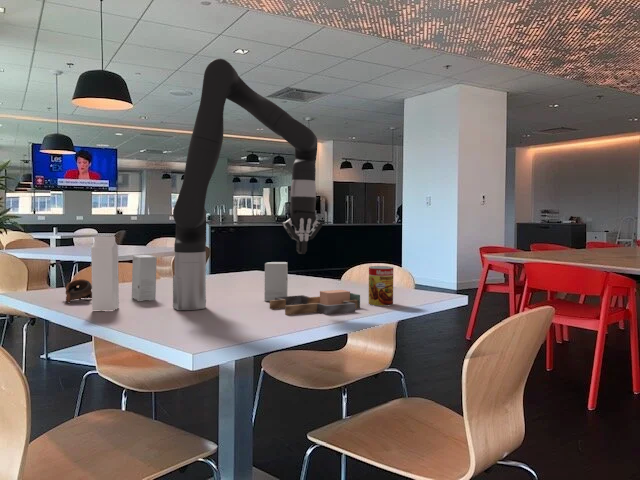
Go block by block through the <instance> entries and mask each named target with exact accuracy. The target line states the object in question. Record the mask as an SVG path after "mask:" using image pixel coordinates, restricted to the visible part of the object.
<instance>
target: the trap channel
mask: <svg viewBox="0 0 640 480" xmlns="http://www.w3.org/2000/svg"><path fill="white" fill-rule="evenodd" d="M360 308H361V294H357V293H352V292H350V300H346V301H342V304H336V305H324V304H321V303H320V296H307V295H304V294H303V295H302V294H301V295H299V294H298V295H290V296H289V295H287V296H286V297H275V300H270V301H269V309H270V310H277V309H284V314H285V316H289V315H290V316H291V315H301V314H311V313H319V314H322V315H325V316H327V315H337V314H347V313H355V312H356V309H360Z"/></svg>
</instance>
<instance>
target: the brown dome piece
mask: <svg viewBox="0 0 640 480" xmlns="http://www.w3.org/2000/svg"><path fill="white" fill-rule="evenodd" d="M64 288H65V295H66V296H65V301H66V303H67V302H70V303H71V301H75V300H79V299H80V300H82V299H81V298H84V299H91V298H92V282H90V281H89V280H87V279H80V278H79V279H75V280H72V281H69V282H67V283H66V284H65V286H64Z"/></svg>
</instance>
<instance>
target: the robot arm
mask: <svg viewBox="0 0 640 480" xmlns="http://www.w3.org/2000/svg"><path fill="white" fill-rule="evenodd" d="M201 88H202V89H201V95H200V103H199V105H198V109H197V114H196V118H195V121H194V126H193V130H192V133H191V137H190V141H189V146H188V151H187V156H186V162H185V168H184V177H183V181H182V184H181V187H180V190H179V193H178V196H177V199H176V202H175V205H174V206H173V207H174V208H173V211H172V217H173V220H174V222H175V237H174V239H175V240H174V244H173V245H174V250H173V251H174V276H172V307H173V309H175V310H177V311H196V310H203V309H206V308H207V280H206V279H207V277H206V276H207V273H206V272H207V271H206V270H207V269H206V267H207V263H206V260H207V257H206V255H207V253H206V248H207V246H206V245H207V211H206V208H205V205H206V198H207V193H208V187H209V184H210V181H211V179H212V177H213V174H214V172H215V169H216V167H217V165H218V162H219V159H220V158H219V157H220V155H221V150H222V147H223V140H224V110H225V106H226V105H225V103H226V101H227V100H229V101H231V102H232V103H234V104H236V105H238V106H239V107H241V108H242V109H244V110H245V111H247V112H248V113H249V114H250V115H252V116H253V117H254V118H255V119H256V120H258V121H259V122H260V123H261V124H262V125H264V126H265V127H267V128H268V129H269V130H270V131H271V132H273V133H274V134H276V135H278V136H279V137H281V138H283V140H285V141H286V142H287V143H288V144H289V145H290V146H292V147H293V148H294V162H293V164H292V167H291V169H292V170H291V184H290V185H291V186H290V209H289V210H290V214H289V217H288V219H287V220H286V221H283V222H282V223H281V225H282V226H283V228H284V229H285V231H286V233H287V234H288V235H289V237H290V239H291V240H295V242H296V252H297V254H299V255H305V254H306V252H307V251H308V241H309V240H313V239H314V238H315V237H316V235H318V233H319V231H320V230H321V228H322V227H323V223H322V222H320V221H318V220H317V216H316V204H317V186H316V175H317V174H316V170H317V169H316V162H317V156H318V138H317V135H316V134H315V132H313V130H312V129H310V128H309V127H307V126H306V125H304V123H302V122H300V121H299V120H297V119H296V118H294V117H293V116H292V115H291V114H289V113H288V112H287V111H286V110H284V109H283V108H282V107H280V105H277V104H276V103H274V102H273V101H271V100H270V99H268V98H266V97H264V96H262V95H261V94H259V93H258V92H256V91H255V90H253V89H252V88H251V87H250V86H249V85H248V84H247V83H246V82H245V81H244V80H243V79H242V78H241V77H240V76H239V74H238V72H237V70H236V69H235V68H234V67H233V65H232V64H231V63H230V62H229V61H227V60H226V59H223V58H214V59H213V60H211V61H210V62H209V63H208V64H207V65H206V67H205V70H204V74H203V80H202V87H201ZM292 226H293V227H292Z"/></svg>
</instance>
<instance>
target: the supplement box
mask: <svg viewBox="0 0 640 480" xmlns="http://www.w3.org/2000/svg"><path fill="white" fill-rule="evenodd" d="M288 270H289V269H288V261H287V262H286V261H271V262H265V263H264V302H270V300H275V297H286V296H288V291H289V290H288V281H289V280H288V279H289V278H288V277H289V276H288V275H289V274H288Z"/></svg>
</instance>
